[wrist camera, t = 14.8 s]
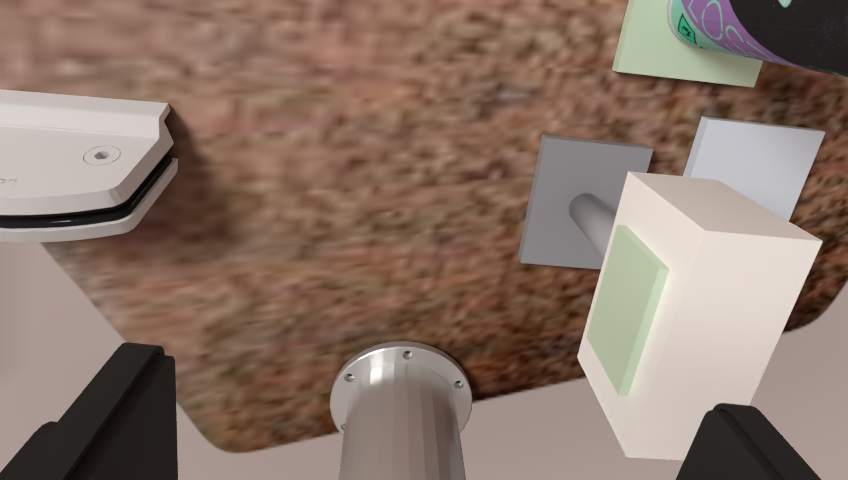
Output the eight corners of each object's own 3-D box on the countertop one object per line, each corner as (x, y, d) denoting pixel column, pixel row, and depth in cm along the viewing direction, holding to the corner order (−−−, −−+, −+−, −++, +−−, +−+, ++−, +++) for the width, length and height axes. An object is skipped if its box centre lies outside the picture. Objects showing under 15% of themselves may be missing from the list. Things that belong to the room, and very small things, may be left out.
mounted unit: (610, 274, 45) (752, 463, 27) (515, 267, 45) (596, 455, 26) (650, 131, 40) (857, 244, 22) (545, 120, 40) (669, 227, 22)
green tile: (745, 85, 39) (754, 87, 38) (611, 69, 39) (617, 71, 38) (799, -74, 35) (810, -75, 34) (651, -95, 34) (658, -97, 34)
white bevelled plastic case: (174, 103, 38) (117, 194, 31) (187, 159, 41) (139, 253, 34) (-81, 82, 37) (-202, 172, 30) (-47, 141, 40) (-148, 235, 33)
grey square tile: (771, 238, 45) (779, 243, 44) (666, 228, 44) (671, 233, 43) (816, 128, 41) (825, 131, 40) (701, 116, 40) (708, 119, 39)
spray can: (656, -19, 35) (921, -28, 17) (740, -60, 35) (1112, -115, 16) (677, 61, 38) (933, 128, 19) (757, 24, 37) (1103, 58, 18)
